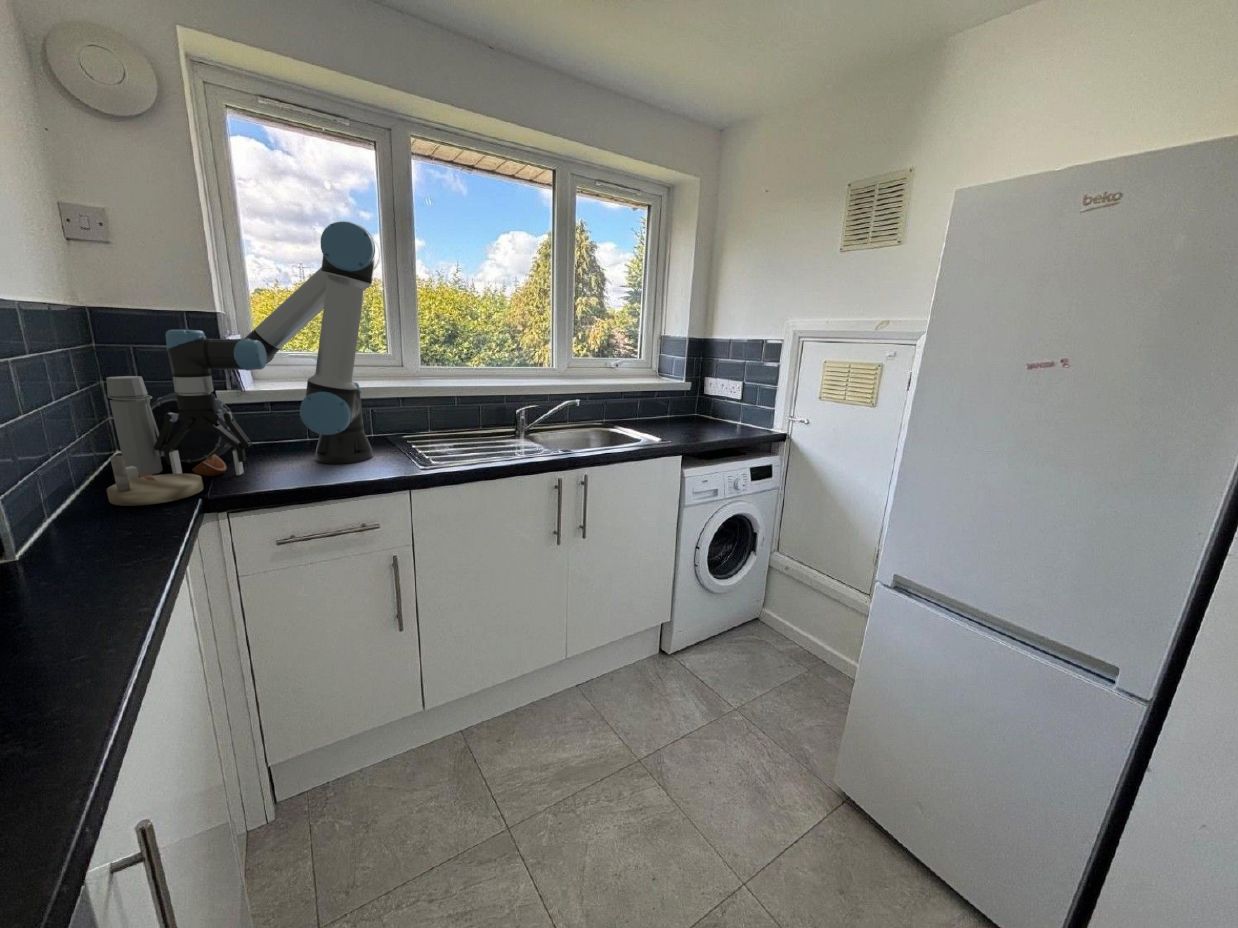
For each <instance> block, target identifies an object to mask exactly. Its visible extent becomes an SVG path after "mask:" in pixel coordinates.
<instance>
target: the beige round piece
mask: <svg viewBox="0 0 1238 928" xmlns="http://www.w3.org/2000/svg"><path fill="white" fill-rule="evenodd" d="M109 460H110V464H111V468H112V471H113V477H114V482H115V483H114V484H112V485H110V486H109V487H107V488H106V493H107V498H108V503H110V504H112V505H115V506H123V507H126V506H128V507H132V506H133V507H134V506H148V505H149V506H150V505H156V504H162V503H163V504H164V503H169V502H173V501H178V500H181V499H185V498H189V497H191V496H194V495H198V494H199V493H200V492H202V491H203V490H204V483H203V478H202V475H200V474H196V473H182V474H173V473H165V474H164V473H163V474H157V475H153V476H152V475H151V474H149V473H148V474H141V475H138V477H139V478H136V479H131V480H128V475H127V471H126V467H125V462H124V458H123V456H122V455H115V456H114V455H113V456H111V457H109Z"/></svg>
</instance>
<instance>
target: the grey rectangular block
mask: <svg viewBox="0 0 1238 928" xmlns="http://www.w3.org/2000/svg"><path fill="white" fill-rule="evenodd" d="M126 471H127V475H128V480H131V479H136V478H139V477H138V475H139V474H138V470H137V467H134V466H129V467H126Z"/></svg>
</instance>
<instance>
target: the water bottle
mask: <svg viewBox="0 0 1238 928" xmlns="http://www.w3.org/2000/svg"><path fill="white" fill-rule="evenodd" d="M106 388H107V389H106V391H107V395H106V396H107V398H109V399H110V400H109V405H110V408H111V412H112V413H111V414H112V416H113V417H112V418H113V421H114V426H115V431H116V435H117V439H118V445H119V448H120V453H121V456H123V458H124V462H125V467H129V466H134V467H137V470H138V474H139V475H141V474H148V473H149V474H151V475H152V476H154V475H156V474H157V475H160V474H161V473H162V472H163V463H162V459H161V457H165V456H164V452H163V451H161V454H160V453H159V450H155V449H154V446H155V444H156V441H157V439H156V434H157V437H158V436H159V431H158V428H157V425H156V422H155V419H154V416H153V413H152V410H151V399H153V396H151V395H149V394H148V390H147V388H146V385H145V382H144V379H143V376H139V375H125V376H122V375H121V376H119V375H118V376H109V377H106ZM153 424H154V425H153ZM154 427H155V429H154ZM155 431H156V434H155Z"/></svg>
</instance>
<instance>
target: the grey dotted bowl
mask: <svg viewBox="0 0 1238 928" xmlns="http://www.w3.org/2000/svg"><path fill="white" fill-rule="evenodd" d="M177 395H179V393H176V392H175V391H174V392H172V393H169V394H166V395H164V396H162V397H158V398H157V399H156V401H154V402H153V403H152V404H150V407H151V410H152V413H153V416H154V419H155V422H156V425H157V428H158V431H159V434H160V431H161V429H162V427H163V424H164V414H166V413H170V412H173V413H174V414H179V409H178V404H177V398H176V396H177ZM215 400H216V406H217V411H218V413H226V412H229V411H230V412H232V411H231V409H230V408H229V407H228V406H227V404H226V403H224V402H223V401H221V400H220V399H218V398H217V397H215ZM233 416H234V420H235V421H236V422H237V420H236V418H235V415H234V414H233ZM217 422H218V423H220V424H221V425H222V426H223V428H224V429H225V430H227V431H228V432H229V433H230V434H231V435H233V436H234V437H235V438H236V439H237V437H236V436H235V435H234V433H233V432H232V431H231V429H230V428H229V427H228V425H227V424H226V422H225V421H223V420H222V419H221V418H219V420H218V421H217ZM183 424H184V423H183V422H181V421H180V420H179V418H178V419H177V421H175V423H174V426H173V428H172V431H171V433H170V436H169V438H168V440H167V443H166V445H167V444H168V443H169V442H170V441H171V439H172V438H173V437H174V436H175V435H176V433H177V432H178V431H179V429H180V428H181V426H182V425H183ZM153 425H154V424H153ZM154 429H155V427H154ZM155 434H156V431H155ZM156 439H158V437H157V434H156ZM231 447H232V446H231V445H230V444H229V443H228V442H226V441H225V440H224V439H223V438H222V437H220V436H219V435H218V434H217V433H215V432H213V431H212V430H211V429H210V430H207V431H203V430H197V431H193V430H190V431H189V432H188V433H187V434H186V435H185V436H184V438H183V439H182V440H181V441H180V442H179V444H178V445H177V446H176V447H175V448H174V450H173V451H175V450H178V453H179V458H180V463H182V464H190V465H198V464H200V463H202V462H203V461H205V460H206V458H209V457H210V456H212V455H214V454H215V455H217V456H218V457H219V458H220V457H221V456H222V455H224V454H225V453H226V452H227V451H229V449H230V448H231ZM159 454H160V455H161V451H160V450H159ZM163 457H165V458H166V456H165V453H164V456H163Z"/></svg>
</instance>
